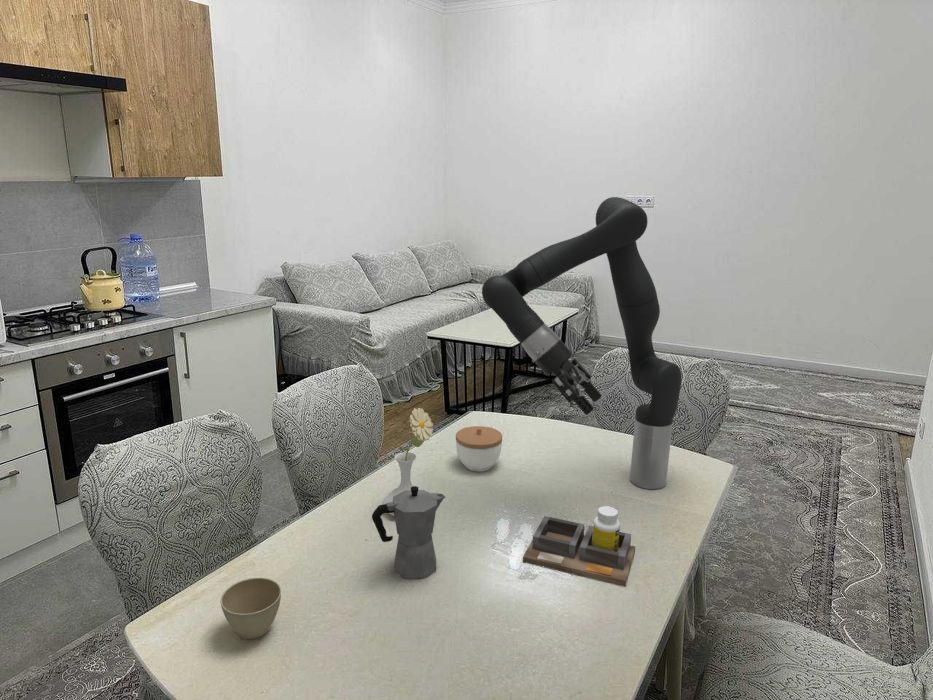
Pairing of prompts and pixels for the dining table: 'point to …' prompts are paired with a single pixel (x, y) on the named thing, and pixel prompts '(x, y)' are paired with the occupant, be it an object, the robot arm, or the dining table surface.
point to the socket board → (579, 551)
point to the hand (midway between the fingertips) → (594, 405)
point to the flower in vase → (405, 459)
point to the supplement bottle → (606, 529)
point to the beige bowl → (251, 606)
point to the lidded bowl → (478, 447)
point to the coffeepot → (412, 531)
